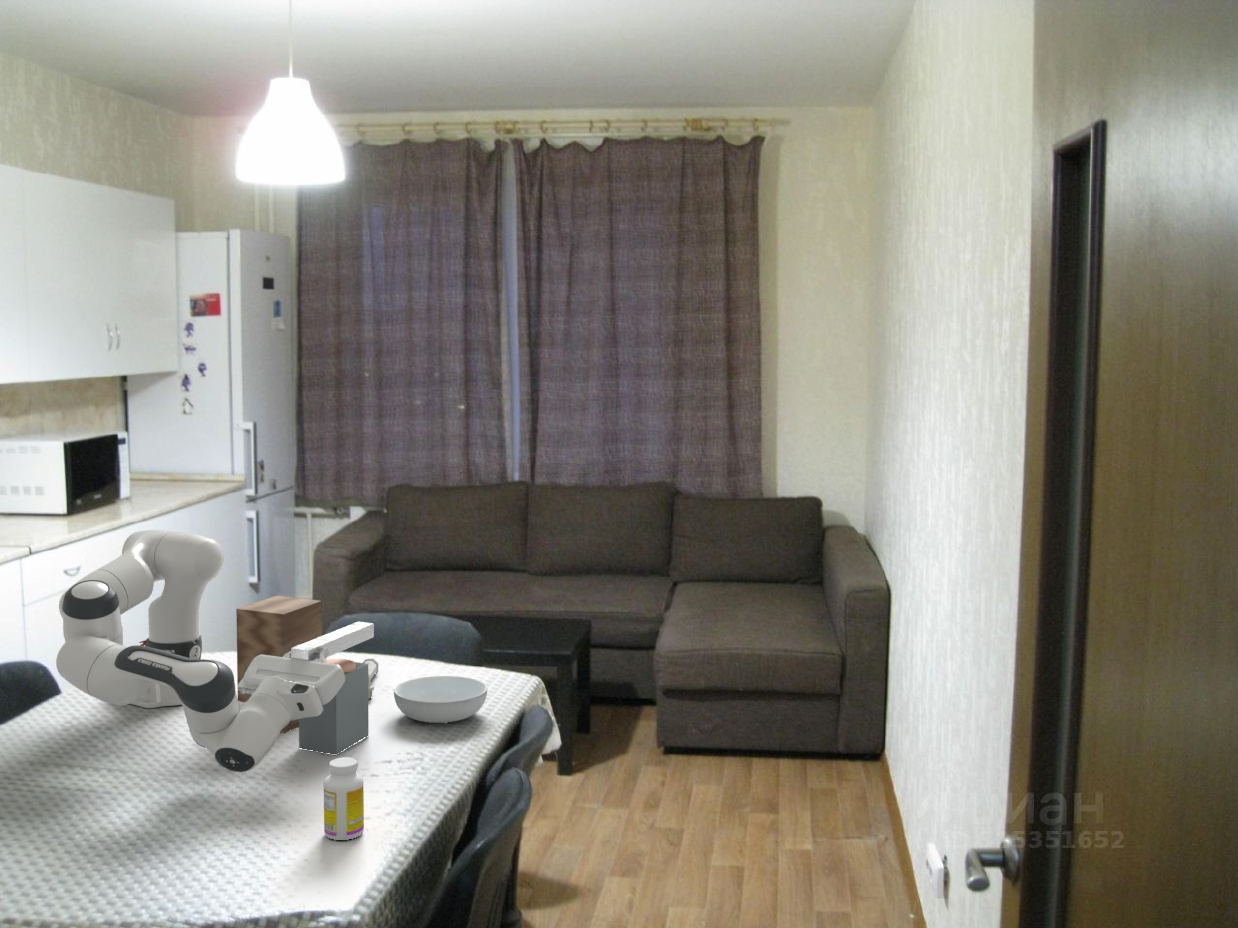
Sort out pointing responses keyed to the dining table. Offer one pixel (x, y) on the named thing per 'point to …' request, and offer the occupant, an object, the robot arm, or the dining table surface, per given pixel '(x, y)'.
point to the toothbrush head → (371, 673)
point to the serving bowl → (440, 698)
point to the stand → (275, 632)
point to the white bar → (334, 641)
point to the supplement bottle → (343, 800)
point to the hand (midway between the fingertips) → (314, 648)
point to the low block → (339, 713)
